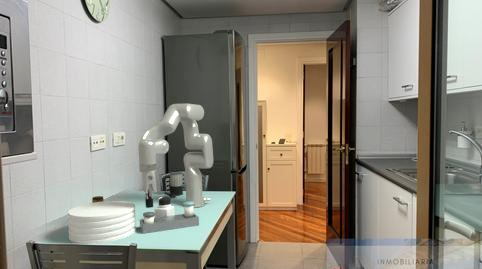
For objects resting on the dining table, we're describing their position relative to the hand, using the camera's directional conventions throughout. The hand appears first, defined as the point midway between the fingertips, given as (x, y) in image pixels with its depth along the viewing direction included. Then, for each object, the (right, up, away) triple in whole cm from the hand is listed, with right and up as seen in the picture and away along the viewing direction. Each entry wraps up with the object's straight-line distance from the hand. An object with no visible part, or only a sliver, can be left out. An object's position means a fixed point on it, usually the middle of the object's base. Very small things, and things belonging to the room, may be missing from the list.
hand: (149, 207), depth 160 cm
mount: (+9, -10, +4) cm, 14 cm away
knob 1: (0, -10, 0) cm, 10 cm away
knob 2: (+17, -6, +8) cm, 20 cm away
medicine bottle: (+4, -10, +13) cm, 17 cm away
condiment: (-30, -10, +17) cm, 36 cm away
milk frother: (-3, -8, +73) cm, 73 cm away
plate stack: (-20, -11, -3) cm, 23 cm away
